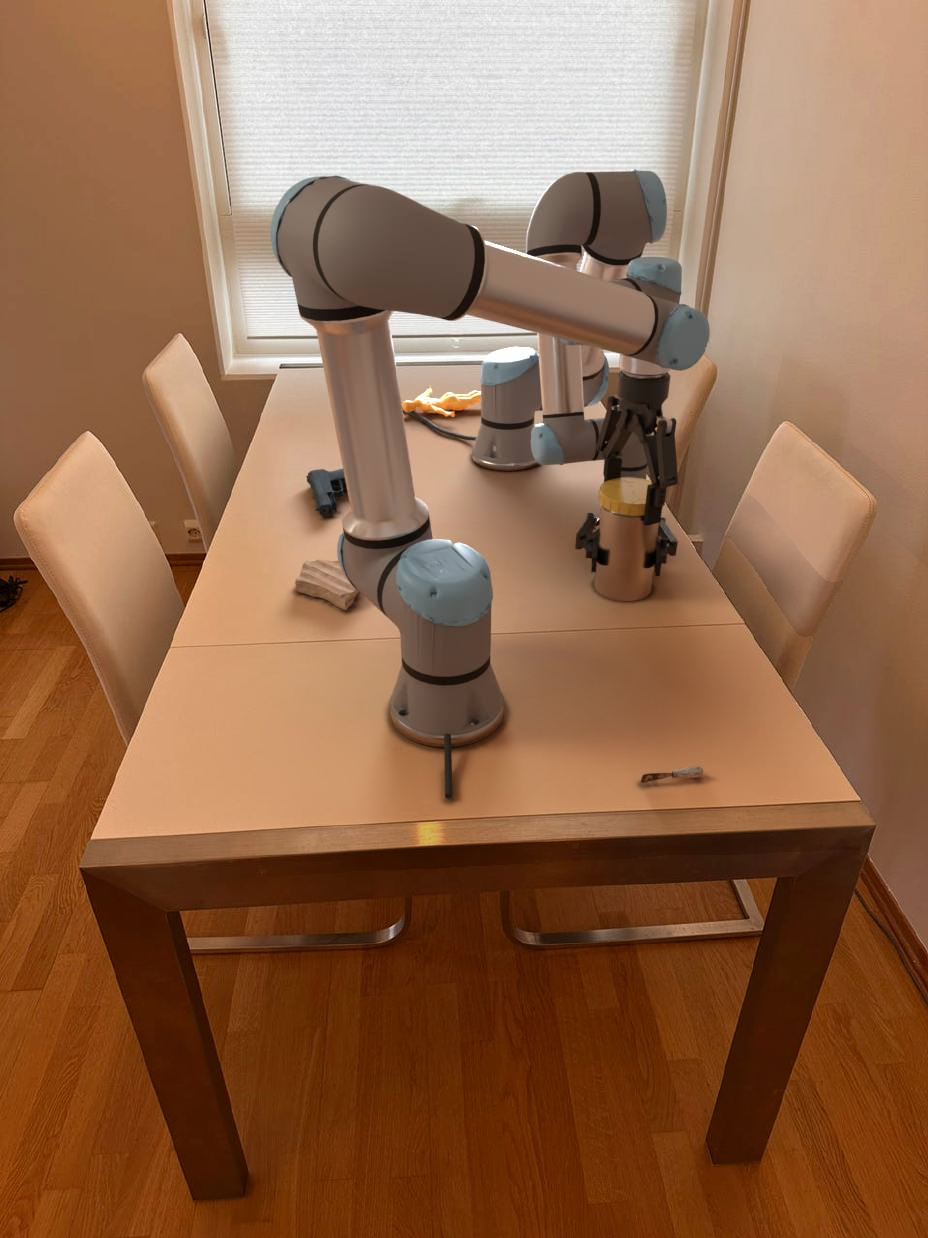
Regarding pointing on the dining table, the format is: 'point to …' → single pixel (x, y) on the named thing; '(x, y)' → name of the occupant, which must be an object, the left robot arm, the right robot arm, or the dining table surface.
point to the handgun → (326, 489)
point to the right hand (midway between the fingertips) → (626, 567)
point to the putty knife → (674, 774)
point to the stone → (326, 583)
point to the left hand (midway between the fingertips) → (630, 509)
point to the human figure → (442, 402)
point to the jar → (625, 556)
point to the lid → (624, 495)
